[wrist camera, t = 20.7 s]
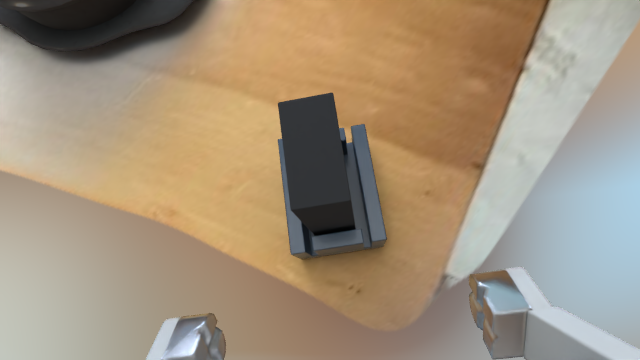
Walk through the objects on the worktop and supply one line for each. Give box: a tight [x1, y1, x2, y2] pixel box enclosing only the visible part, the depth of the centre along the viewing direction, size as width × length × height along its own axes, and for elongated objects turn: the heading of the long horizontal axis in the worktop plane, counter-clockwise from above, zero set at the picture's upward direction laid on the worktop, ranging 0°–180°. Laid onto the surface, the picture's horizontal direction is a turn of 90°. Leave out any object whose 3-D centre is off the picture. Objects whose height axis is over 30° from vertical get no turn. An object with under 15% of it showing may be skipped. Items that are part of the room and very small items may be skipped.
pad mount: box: [278, 124, 387, 259], centre depth 27 cm, size 8×6×4 cm
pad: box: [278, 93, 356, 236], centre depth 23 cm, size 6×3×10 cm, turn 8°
